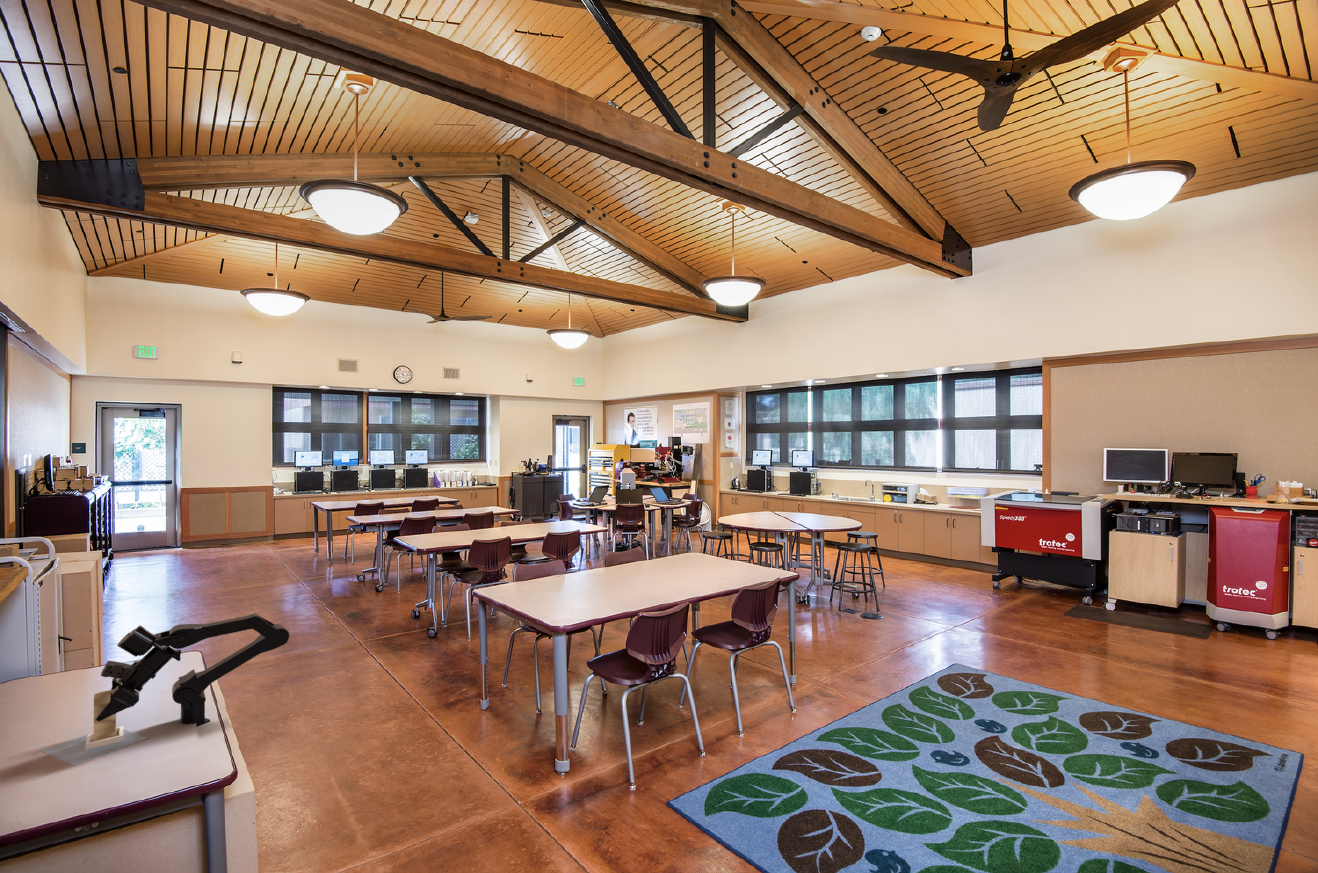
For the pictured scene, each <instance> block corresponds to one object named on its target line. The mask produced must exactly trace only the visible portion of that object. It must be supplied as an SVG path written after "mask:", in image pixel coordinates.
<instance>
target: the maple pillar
mask: <svg viewBox="0 0 1318 873" xmlns="http://www.w3.org/2000/svg"><path fill="white" fill-rule="evenodd" d="M113 690H114V689H113ZM113 690H111V689H109V690H103V691H99V692H94V694H93V696H94V697H93V732H94V741H98V740H102V739H106V738H111V737H115V736H116V726H117V713H116V714H113V715H111V716H109V717H107V718H105V719H103V720H101V721H97V720H96V718H97V717H98V715H99V714H100V713H101V712H102V710H103V709H104V708H105V707H106V705H107V704H108V703H109V702H110V694H111V693H112V692H113Z"/></svg>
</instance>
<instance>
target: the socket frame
mask: <svg viewBox="0 0 1318 873" xmlns="http://www.w3.org/2000/svg"><path fill="white" fill-rule="evenodd" d="M124 728H125V727H124V725H121V726H117V727H116V734H117V733H119V736H115V737H111V738H106V739H102V740H98V741H94V742H91V740H92V739H94V733H93V732H91V733H87V734H86V735H87V739H86V744H85V750H88V749H92V748H96V747H100V746H104V745H109V744H113V743H117V742H121V741H123V732H124V730H125V729H124Z"/></svg>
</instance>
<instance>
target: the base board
mask: <svg viewBox="0 0 1318 873" xmlns="http://www.w3.org/2000/svg"><path fill="white" fill-rule="evenodd" d="M116 727H118V726H117V725H116ZM92 733H94V731H93V732H92ZM116 736H119V733H117V734H116ZM86 739H87V734H85V735H81V736H79V737H76V738H72V739H70V740H67V741H65V742H62V743H59V744H56V745H53V746H50V747H47V748H44V749H41V750H40V751H41V752H42V753H45V754H47V755H49V756H51V757H54V758H56V759H58V760H60V761H62V762H65V763H66V764H69V765H71V766H73V767H74V766H77V765H80V764H84V763H86V762H88V761H91V760H94V759H96V758H99V757H101V756H104V755H106V754H110V753H112V752H114V751H116V750H120V749H122V748H125V747H128V746H130V745H133V744H135V743H138V742H142V741H145V740H146V739H148V737H145V736H143V735H140V734H137V733H135V732H132V731H129V730H127V729H124V732H123V741H121V742H117V743H113V744H109V745H104V746H100V747H96V748H92V749H88V750H85V744H86ZM91 742H94V739H92V740H91Z"/></svg>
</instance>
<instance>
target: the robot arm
mask: <svg viewBox="0 0 1318 873" xmlns="http://www.w3.org/2000/svg"><path fill="white" fill-rule="evenodd" d="M247 630H248V631H249V630H253V631H255V632H257V633H258V634H259V635H258V636H257V638H255V639H254V640H253V641H252V642H250V643H249V644H246V645H245V646H244V647H242V648H240V649H238V650H237V651H235V652H234V653H231V654H230V655H228V656H227V657H225V658H223V659H221V660H220V661H218V662H217V663H214V664H213V665H211V666H210V667H208V668H206V669H204V670H202V671H198V672H196V671H195V669H192V670H190V671H189V672H188V673H186V674H184V675H182V676H179V677H178V680H176V681H175V682H174V683H173V685H172V688H171V694H172V700H173V701H174V702H175V704H180V724H183V725H190V724H191V725H194V724H195V727H196V728H197V727H200V726H203V725H205V724H208V723H210V722H211V719H210V718H207V717H206V714H205V713H206V711H205V710H206V707H205V706H206V699H207V698H206V694H205V690H206V689H207V688H208V687H209V686H210V685H211V684H212V683H214V682H216V681H218V680H219V679H220V678H222V677H224V676H226V675H227V674H229V673H230V672H232V671H234V670H235V669H237V668H239V667H241V666H242V665H244V664H245V663H248V662H249V661H250V660H252V659H254V658H256V657H257V656H259V655H260V654H263V653H267V652H271V651H273V650H275V649H278V648H280V647H282V646H284V645H286V644H287V643H288V642H289V639H290V632H289V631H288V629H287V628H286V627H285V626H284V625H283V624H280V623H273V622H271V621H269V620H268V619H265V618H263V617H262V616H261V615H260V614H259V613H251V614H248V615H245V616H239V617H234V618H230V619H229V618H228V619H223V620H220V621H214V622H209V623H185V624H184V623H183V624H177V625H174V626H173V627H171V629H168V630H165V631H161V632H158V633H155V634H153V633H152V632H150V631H149V630H147V629H146V628H145V627H143V626H142V625H140V624H139V625H138V626H137V627H136V628H134V629H132V630H130V632H128V633H126V634H125V636H123V637H122V639H120V640H119V642H117V645H116V646H117V647H118V648H120V649H122V650H123V651H125V652H126V653H129V654H130V655H132V656H133V657H136V658H137V657H138V656H139V657H142V656H143V657H142V658H141V659H140V660H137V661H134V662H132V664H129V663H124V662H120V661H113V660H107V661H106V663H105V665H104V667H103V669H102V670H101V673H100V677H102V678H103V677H104V678H112V680H111V681H112V682H111V687H110V690H113V689H114V690H113V692H112V693H111V694H110V702H109V703H108V704H107V705H106V707H105V708H104V709H103V710H102V712H101V713H100V714H99V715H98V717H97V718H96V720H97V721H101V720H103V719H105V718H107V717H109V716H111V715H113V714H116V715H117V713H119V712H122V711H124V710H126V709H130V708H131V707H132V708H133V707H134V706H135V705H137V703H139V701H140V692H141V691H143V689H144V686H145V685H146V684H147V683H148V682H149V681H150V680H151V679H152V680H153V679H155V677H156V676H157V673H159V671H161V669H163V668H164V666H166V665H167V664H168V663H169V662H170V661H171V660H172V659H174V660H175V661H178V662H180V661H181V660H182V659H181V654H182V649H185V648H187V647H190V646H193V645H195V644H197V643H199V642H201V641H204V640H207V639H210V638H215V637H219V636H225V635H229V634H234V633H238V632H243V631H247Z"/></svg>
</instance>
